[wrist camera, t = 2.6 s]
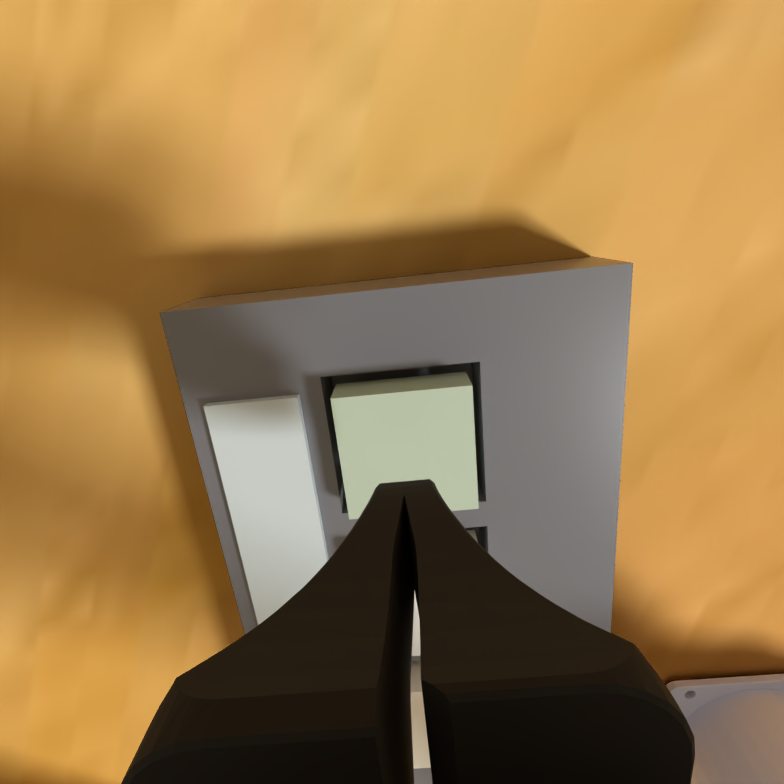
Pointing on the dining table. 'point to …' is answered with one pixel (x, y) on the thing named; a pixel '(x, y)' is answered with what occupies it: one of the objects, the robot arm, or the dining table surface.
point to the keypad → (408, 359)
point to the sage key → (407, 436)
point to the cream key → (418, 720)
